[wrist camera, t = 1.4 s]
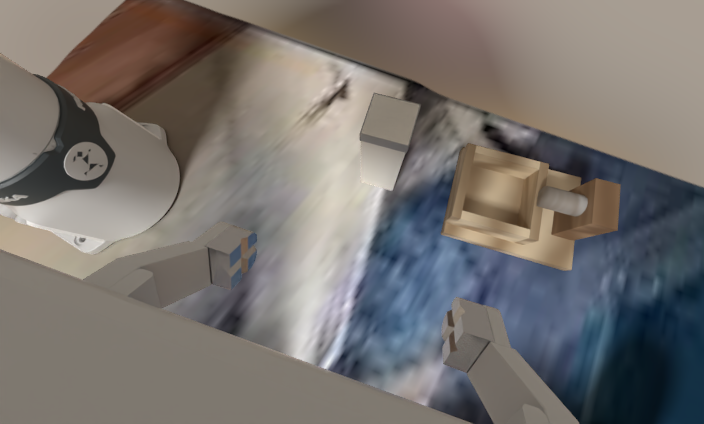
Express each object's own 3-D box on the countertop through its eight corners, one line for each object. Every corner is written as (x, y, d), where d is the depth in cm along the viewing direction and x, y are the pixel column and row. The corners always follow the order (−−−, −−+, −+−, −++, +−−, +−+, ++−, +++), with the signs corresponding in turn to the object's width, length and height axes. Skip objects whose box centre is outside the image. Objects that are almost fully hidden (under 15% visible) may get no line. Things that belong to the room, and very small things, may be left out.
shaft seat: (438, 233, 35) (458, 219, 28) (458, 150, 38) (480, 119, 31) (564, 270, 33) (618, 265, 26) (573, 181, 36) (625, 155, 29)
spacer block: (359, 182, 37) (359, 133, 25) (369, 152, 38) (373, 92, 26) (392, 191, 36) (409, 146, 25) (401, 161, 37) (421, 104, 26)
